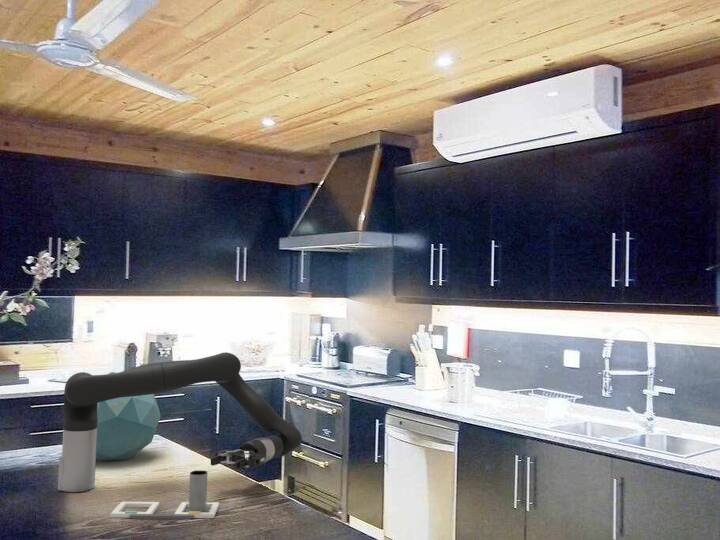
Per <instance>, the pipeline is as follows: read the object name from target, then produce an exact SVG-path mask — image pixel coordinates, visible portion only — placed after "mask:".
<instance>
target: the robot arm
mask: <svg viewBox="0 0 720 540" xmlns="http://www.w3.org/2000/svg"><path fill="white" fill-rule="evenodd" d="M241 368H242V363H241V360H240V358H239V357H238V356H236V355H235V354H234V353H231V352H221V353H218V354H214V355H209V356H206V357H202V358H195V359H188V360H187V359H184V360H183V359H182V360H171V361H170V360H169V361H162V362H161V361H160V362H153V363H148V364H142V365H139V366H135V367H131V368H128V369H126V370H125V369H124V370H122V371H120V372H114V374H109V373H107V374H91V373H89V372H76V373H74V374H72V375H70V377H69V378H68V379H67V380H66V381H65V382H66V383H65V385H64V391H63V392H64V396H63V416H62V417H63V421H62V422H63V423H62V424H63V429H62V430H63V431H62V446H61V447H62V450H61V455H60V456H59V458H58V478H57V491H63V492H67V493H78V492H79V493H80V492H86V491H89V490H92V489H94V488H95V485H96V484H95V483H96V465H97V464H96V463H97V459H96V445H97V423H98V418H97V403H99V402H103V401H107V400H111V399H115V398H120V397H132V396H141V395H150V394H154V395H156V394H161V393H163V394H164V393H167V392H171V391H175V390H180V389H182V388H185V387H189V386H191V385H192V386H193V385H196V384H200V383H201V384H202V383H210V382H215V383H216V384H218V385H219V386H220V387H221V388H222V389H224V390H225V391H226V392H227V393H228V394H229V395H230V396H231V397H232V398H233V399H234V400H236V401H237V403H238V404H239V405H240V406H241V407H242V409H244V411H245V412H246V413H247V415H248V416H249V417H250V418H251V419H252V421H253V422H254V423H255V424H256V425H257V426H258V427H259V429H260V430H261V431H262V432H263V433H265V434H267V433H271V432H276V433H277V434H276V435H274V434H271V435H267V436H263V437H258V438H255V439H251V440H249V441H246V442H244V443H242V444H241V445H240V447H239V449H235V450H230V449H223V450H219V451H217V452H214V456H212V457H210V466H212V467H213V466H216V465H220V464H227V465H229V464H232V465H233V464H235V465H234V468H235V470H240V469H241V470H242V469H243V468H248V469H249V468H250V469H252V468H253V469H254V468H257V467H259V466H261V465H263V464H265V463H267V462H268V461H270V460H273V459H275V458H276V459H278V458H282V457H284V456H286V455H288V454H290V453H291V452H293V451H294V450H296V449H297V448H299V446H301V444H302V442H303V437H302V433H301V432H300V431H299V429H298V428H297V427H296V426H295V425H293V424H292V423H290V422H289V421H287V420H286V419H284V418H283V417H282V416H281V415H279V414H278V413H277V412H276V410H274V408H273V407H272V406H271V405H270V404H269V402H268V401H267V400H266V399H264V398H263V396H261V395H260V394H259V393H258V392H256V391H255V390H254V389H253V388H252V387H251V386H249V385H248V383H247V382H246V381H245V380H244V378H243V377H242V376H241V374H240V372H241ZM230 457H231V458H230Z"/></svg>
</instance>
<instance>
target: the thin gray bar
mask: <svg viewBox="0 0 720 540" xmlns="http://www.w3.org/2000/svg"><path fill="white" fill-rule="evenodd" d="M128 519H129V520H194V519H195V518H194V515H174V514H153V515H130V516H129V518H128Z"/></svg>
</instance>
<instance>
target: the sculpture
mask: <svg viewBox="0 0 720 540" xmlns="http://www.w3.org/2000/svg"><path fill="white" fill-rule="evenodd" d="M114 373H115V372H113V371H111V372H110V373H109V372H108V374H114ZM97 418H98V423H97V445H96V461H99V462H104V461H105V462H107V461H106V460H109V461H125V460H126V461H127V460H130V459H131V458H132V457H134V456H135V455H136V454H137V453H139V452H140V451H142V450H143V449H145V448H146V447H147V446H149V445H150V444H151V443H152V442H153V439H154V437H155V434H156V430H157V429H158V428H157V427H158V424H159V422H160V421H161V420H160V419H161V412H160V409H159V405H158V402H157V400H156V396H155V394H150V395H141V396H132V397H120V398H115V399H111V400H107V401H103V402H99V403H97Z"/></svg>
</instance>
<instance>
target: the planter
mask: <svg viewBox="0 0 720 540" xmlns="http://www.w3.org/2000/svg"><path fill="white" fill-rule="evenodd" d="M208 475H209V474H208V471H207V470H201V469H200V470H193V471H190V472H189V485H188V487H189V489H188V490H189V491H188V502H189V508H188V512H189V511H201V512H207V508H206V502H207V498H208V497H207V496H208Z"/></svg>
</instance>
